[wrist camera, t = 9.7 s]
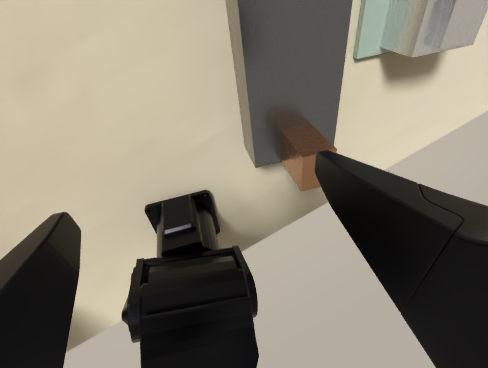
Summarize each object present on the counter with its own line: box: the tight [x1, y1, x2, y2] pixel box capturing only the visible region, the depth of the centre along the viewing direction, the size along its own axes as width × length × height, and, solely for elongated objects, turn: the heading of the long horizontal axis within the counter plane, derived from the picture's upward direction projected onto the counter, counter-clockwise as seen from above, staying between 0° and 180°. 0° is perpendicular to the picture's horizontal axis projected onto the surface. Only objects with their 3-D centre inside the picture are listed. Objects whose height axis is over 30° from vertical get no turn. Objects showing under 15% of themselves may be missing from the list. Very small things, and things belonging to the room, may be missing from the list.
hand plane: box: [226, 0, 352, 191], centre depth 15 cm, size 22×7×8 cm, turn 7°
